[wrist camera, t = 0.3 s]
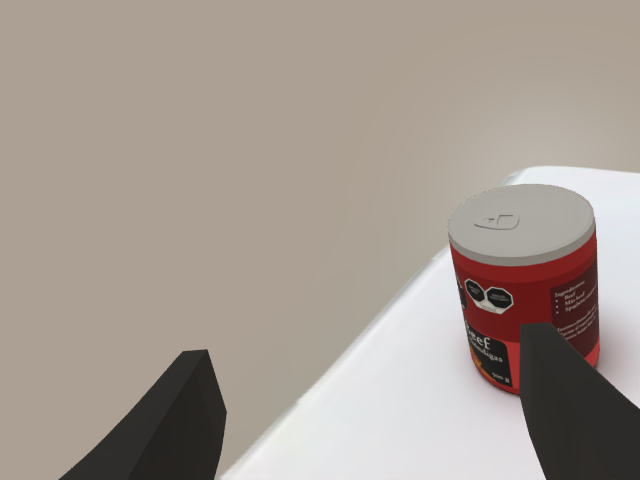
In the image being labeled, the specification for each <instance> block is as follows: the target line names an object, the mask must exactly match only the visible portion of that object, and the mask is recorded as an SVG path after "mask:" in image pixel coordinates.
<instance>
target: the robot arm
mask: <svg viewBox="0 0 640 480" xmlns="http://www.w3.org/2000/svg"><path fill="white" fill-rule="evenodd" d="M519 395H520V399H521V403H522V407H523V412H524V416H525V420H526V424H527V428H528V431H529V435H530V438H531V441H532V443H533V446H534V449H535V451H536V454H537V457H538V459H539V462H540V465H541V467H542V470H543V473H544V475H545V478H546V480H640V409H639V408H638V407H637V406H636V405H634V404H633V403H632V402H631V401H630V400H628V399H627V398H626V397H625V396H624V395H623V394H622V393H621V392H619V391H618V390H617V389H616V388H615V387H614V386H613V385H612V384H611V383H610V382H609V381H607V380H606V379H605V378H604V377H603V376H602V375H601V374H600V373H599V372H598V371H597V370H596V369H595V368H594V367H593V366H592V365H591V364H590V363H589V362H588V361H587V360H586V359H585V358H584V357H583V356H582V355H581V354H580V353H579V352H578V351H577V350H576V349H575V348H574V347H573V346H572V345H571V344H570V343H569V342H568V341H567V340H566V339H565V338H564V337H563V336H562V334H561V333H560V332H559V331H558V330H557V329H556V328H555V327H554V326H553V325H552V324H551V323H549V322H542V323H530V324H520V364H519ZM226 414H227V411H226V408H225V405H224V402H223V398H222V395H221V392H220V389H219V385H218V382H217V379H216V376H215V372H214V369H213V366H212V363H211V359H210V356H209V353H208V350H207V349H205V350H194V351H183V352H182V353H181V354H180V355H179V356H178V357H177V358H176V359H175V361H174V362H173V363H172V364H171V365H170V366H169V368H168V369H167V370H166V371H165V372H164V373H163V375H162V376H161V377H160V378H159V379H158V380H157V381H156V383H155V384H154V385H153V386H152V387H151V388H150V390H149V391H148V392H147V393H146V394H145V395H144V396H143V397H142V399H141V400H140V401H139V402H138V403H137V404H136V405H135V406H134V407H133V409H132V410H131V411H130V412H129V413H128V415H126V416H125V417H124V418H123V419H122V420H121V421H120V422H119V423H118V424H117V425H116V426H115V427H114V429H113V430H112V431H111V432H110V433H109V434H108V435H107V436H106V437H105V438H104V439H103V440H102V441H101V442H100V443H99V444H98V445H97V446H96V447H95V448H94V449H93V450H92V451H90V453H88V454H87V455H86V456H85V457H84V458H83V459H82V460H81V461H80V462H78V463H77V464H76V465H75V466H74V467H73V468H71V470H69V471H68V472H67V473H66V474H65V475H63V476H62V477H61V478H60V479H59V480H214V477H215V474H216V469H217V466H218V462H219V459H220V455H221V450H222V444H223V437H224V430H225V422H226Z"/></svg>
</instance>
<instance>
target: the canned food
mask: <svg viewBox="0 0 640 480" xmlns="http://www.w3.org/2000/svg"><path fill="white" fill-rule="evenodd" d="M448 230H449V232H448V236H449V241H450V248H451V254H452V259H453V264H454V269H455V275H456V280H457V285H458V290H459V295H460V300H461V305H462V311H463V316H464V321H465V326H466V331H467V336H468V342H469V347H470V352H471V356H472V359H473V361H474V363H475V365H476V366H477V368H478V369H479V371H480V372H481V374H482V375H483V376H484V377H485V378H486V379H487V380H488V381H489V382H491V383H492V384H493V385H495V386H497V387H499V388H501V389H503V390H505V391H508V392H511V393H514V394H518V395H519V364H520V324H530V323H542V322H549V323H551V324H552V325H553V326H554V327H555V328H556V329H557V330H558V331H559V332H560V333H561V334H562V336H563V337H564V338H565V339H566V340H567V341H568V342H569V343H570V344H571V345H572V346H573V347H574V348H575V349H576V350H577V351H578V352H579V353H580V354H581V355H582V356H583V357H584V358H585V359H586V360H587V361H588V362H589V363H590V364H591V365H592V366H593V367H594V366H595V364H596V362H597V360H598V356H599V350H600V347H599V309H598V271H597V239H596V223H595V217H594V212H593V208H592V206H591V205H590V203H589V201H587V200H586V199H585V198H584V197H583V196H581V195H579V194H578V193H576V192H574V191H571V190H568V189H565V188H562V187H557V186H552V185H544V184H520V185H510V186H505V187H500V188H496V189H493V190H489V191H486V192H483V193H481V194H478V195H476V196H474V197H472V198H470V199H468V200H467V201H465V202H464V203H463V204H461V205H460V206H459V207H458V208H457V209H456V210H455V211H454V212H453V213H452V215H451V217H450V219H449V223H448Z"/></svg>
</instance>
